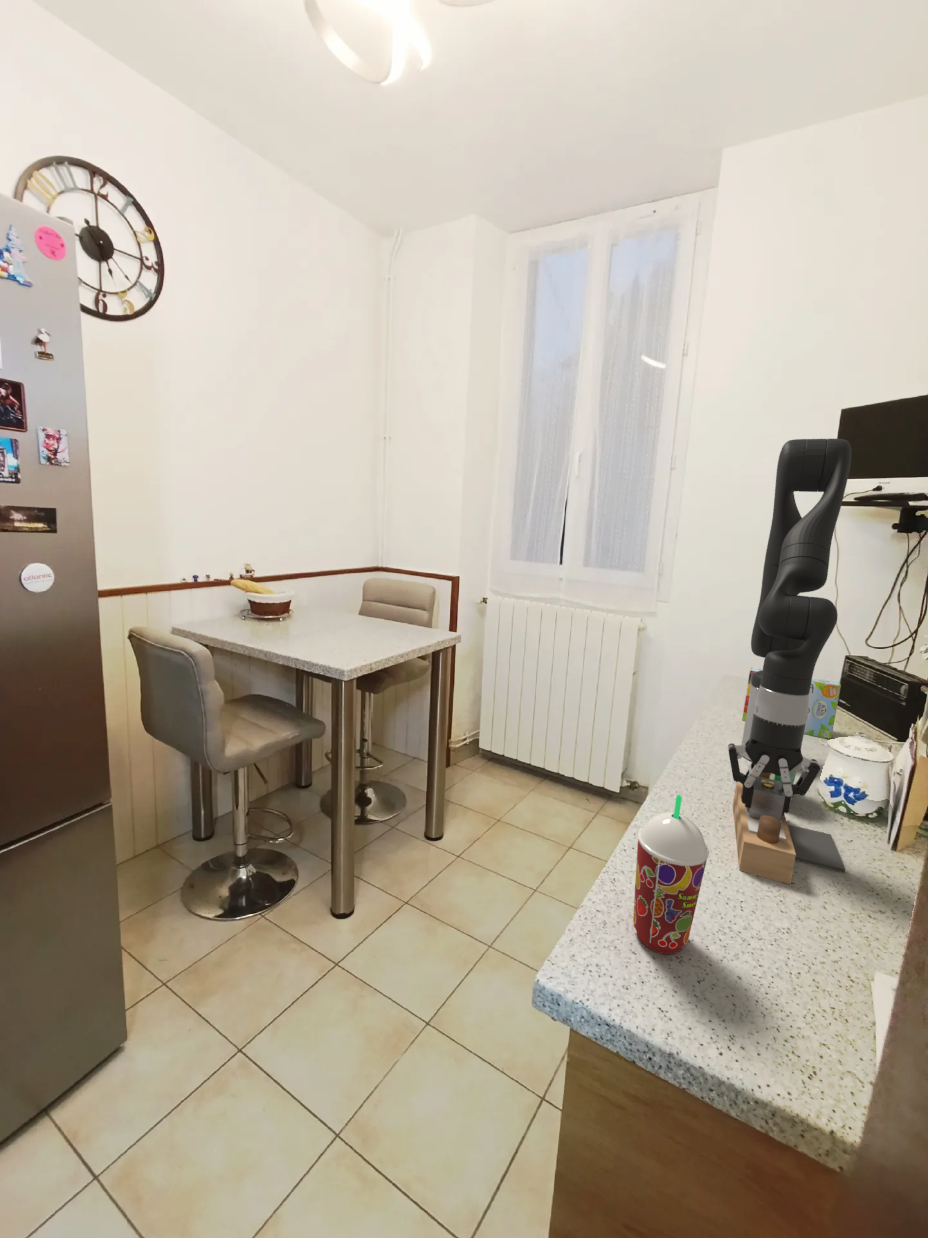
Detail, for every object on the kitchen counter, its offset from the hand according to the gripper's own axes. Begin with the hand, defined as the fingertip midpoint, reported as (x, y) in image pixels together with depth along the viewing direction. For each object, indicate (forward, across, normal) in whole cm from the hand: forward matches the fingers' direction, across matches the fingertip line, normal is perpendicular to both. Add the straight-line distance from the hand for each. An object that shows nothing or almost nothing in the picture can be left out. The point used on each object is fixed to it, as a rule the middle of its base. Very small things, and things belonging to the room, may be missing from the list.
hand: (763, 809), depth 93 cm
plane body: (+6, 0, 0) cm, 6 cm away
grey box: (+1, 0, 0) cm, 1 cm away
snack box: (+6, -12, -67) cm, 68 cm away
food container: (+6, -5, -20) cm, 22 cm away
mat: (+6, -8, -2) cm, 11 cm away
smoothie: (+6, +14, +32) cm, 35 cm away
